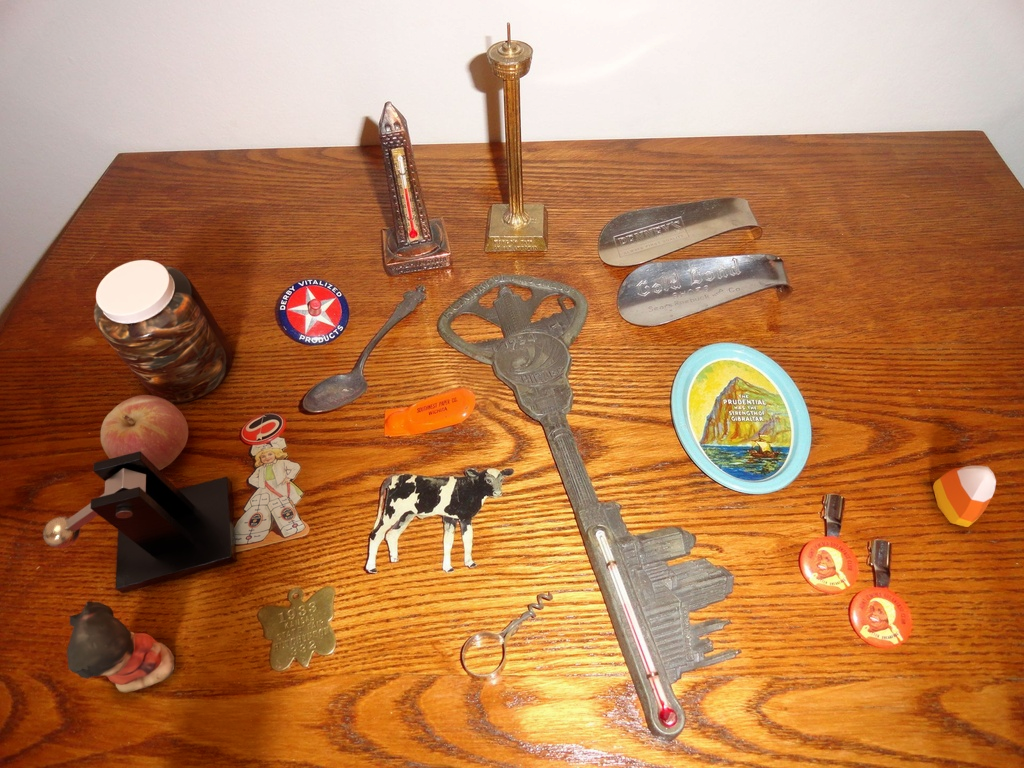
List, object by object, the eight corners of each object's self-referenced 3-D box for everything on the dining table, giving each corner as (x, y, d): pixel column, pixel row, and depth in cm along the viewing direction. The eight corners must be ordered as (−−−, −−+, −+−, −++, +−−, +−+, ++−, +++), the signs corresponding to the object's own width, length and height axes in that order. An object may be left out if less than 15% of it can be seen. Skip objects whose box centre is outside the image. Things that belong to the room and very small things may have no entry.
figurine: (101, 673, 69) (27, 641, 59) (146, 625, 71) (82, 587, 62) (141, 712, 67) (71, 686, 57) (187, 661, 69) (127, 628, 59)
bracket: (122, 593, 73) (44, 544, 62) (125, 510, 79) (54, 450, 68) (236, 561, 75) (180, 508, 64) (231, 481, 80) (180, 419, 69)
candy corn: (924, 482, 77) (959, 446, 70) (950, 479, 77) (988, 443, 70) (948, 532, 73) (988, 500, 67) (976, 529, 73) (1018, 497, 67)
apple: (213, 437, 84) (185, 400, 77) (162, 497, 80) (127, 464, 73) (160, 410, 87) (128, 373, 80) (107, 467, 82) (69, 433, 76)
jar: (253, 349, 91) (207, 269, 79) (190, 416, 86) (130, 341, 74) (187, 318, 95) (133, 237, 83) (123, 380, 89) (55, 303, 77)
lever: (67, 556, 71) (34, 550, 69) (69, 527, 73) (37, 521, 70) (149, 499, 67) (118, 491, 65) (150, 470, 69) (119, 461, 66)
